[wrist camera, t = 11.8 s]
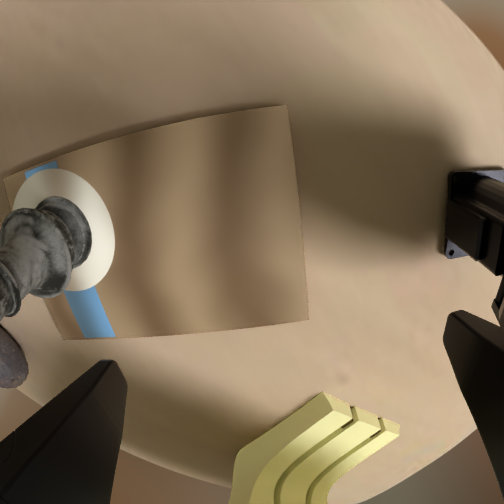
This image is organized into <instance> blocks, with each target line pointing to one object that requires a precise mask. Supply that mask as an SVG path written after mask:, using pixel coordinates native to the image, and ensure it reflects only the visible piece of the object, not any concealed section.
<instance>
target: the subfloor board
mask: <svg viewBox="0 0 504 504" xmlns="http://www.w3.org/2000/svg"><path fill="white" fill-rule="evenodd" d="M3 182H4V186H5V190H6V194H7V198H8V201H9V205H10V208H11V212H12V211H14V210H17V209H20V208H32V209H35V208H36V206H37V205H38V204H39V203H40V202H41V201H43V200H44V199H46V198H49V197H53V196H57V197H63V198H66V199H68V200H70V201H71V202H73V203H74V204H75V205H77V206H78V207H79V209H80V210H81V211H82V212H83V213H84V215H85V217H86V219H87V221H88V223H89V226H90V229H91V233H92V246H91V252H90V254H89V256H88V258H87V260H86V261H85V262H84V263H83V264H82V265H81V266H79V267H77V268H74V269H73V270H72V272H71V279H70V281H69V284H68V286H67V288H66V289H65V290H64V291H63V292H62V293H61V294H60V295H58V296H56V297H53V298H44V300H45V303H46V305H47V307H48V309H49V311H50V313H51V315H52V317H53V320H54V322H55V324H56V326H57V328H58V330H59V332H60V334H61V335H62V337H63V339H64V340H82V339H114V338H136V337H153V336H167V335H181V334H193V333H204V332H214V331H224V330H234V329H243V328H251V327H260V326H268V325H275V324H283V323H290V322H297V321H304V320H309V310H308V296H307V282H306V269H305V257H304V246H303V235H302V225H301V214H300V205H299V195H298V186H297V178H296V169H295V161H294V153H293V145H292V137H291V130H290V122H289V115H288V108H287V105H280V106H271V107H263V108H256V109H249V110H242V111H235V112H229V113H223V114H217V115H212V116H206V117H201V118H196V119H191V120H186V121H181V122H177V123H172V124H168V125H163V126H159V127H155V128H151V129H147V130H143V131H139V132H135V133H132V134H128V135H124V136H121V137H117V138H114V139H110V140H107V141H103V142H100V143H97V144H94V145H91V146H87V147H84V148H81V149H78V150H75V151H72V152H69V153H67V154H64V155H61V156H58V157H55V158H53V159H50V160H47V161H45V162H42V163H39V164H37V165H34V166H32V167H29V168H27V169H24V170H22V171H19V172H17V173H15V174H12V175H10V176H8V177H5V178H3Z"/></svg>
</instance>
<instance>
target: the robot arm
mask: <svg viewBox="0 0 504 504" xmlns="http://www.w3.org/2000/svg"><path fill="white" fill-rule="evenodd" d="M455 176H456V180H455V181H454V177H455ZM450 250H451V252H450V253H449V251H450ZM444 255H445V256H446V257H447V258H448V259H453V258H458V257H463V256H468V255H469V256H470V257H471V258H473V259H474V260H475V261H479V262H480V263H481V264H482V265H484V266H485V267H486V268H487V269H488V270H490V271H491V272H492V273H493V274H494V275H495V276H499V275H501V276H502V280H501V283H500V287H499V290H498V293H497V296H496V298H495V299H494V300H493V303H492V306H491V307H492V309H493V311H494V313H495V316H496V318H497V320H498V322H499V324H500V327H499V326H497V325H495V324H493V323H491V322H488V321H486V320H484V319H482V318H480V317H477V316H475V315H473V314H471V313H468V312H466V311H464V310H459V311H455V312H452V313H450V314H449V315H448V318H447V322H446V327H445V331H444V335H443V343H444V346H445V349H446V352H447V354H448V357H449V359H450V362H451V365H452V368H453V370H454V373H455V376H456V379H457V382H458V384H459V387H460V389H461V392H462V394H463V396H464V398H465V400H466V403H467V405H468V407H469V409H470V412H471V414H472V416H473V418H474V421H475V423H476V425H477V428H478V430H479V433H480V435H481V438H482V440H483V443H484V445H485V448H486V450H487V453H488V455H489V458H490V461H491V464H492V466H493V469H494V472H495V475H496V478H497V481H498V484H499V487H500V490H501V493H502V497H503V500H504V169H489V170H459V171H451V172H450V174H449V176H448V201H447V208H446V225H445V244H444ZM126 396H127V382H126V379H125V377H124V376H123V374H122V372H121V370H120V368H119V366H118V364H117V363H116V362H115V361H114V360H100V361H99V362H97V363H96V364H95V365H94V366H93V367H91V368H90V369H89V370H88V371H86V372H85V373H84V374H83V375H81V376H80V377H79V378H78V379H76V380H75V381H74V382H73V383H72V384H70V385H69V386H68V387H67V388H65V389H64V390H63V391H62V392H61V393H59V394H58V395H57V396H56V397H54V398H53V399H52V400H51V401H50V402H48V403H47V404H46V405H45V406H43V407H42V408H41V409H40V410H39V411H37V412H36V413H35V414H34V415H32V416H31V417H30V418H29V419H28V420H26V421H25V422H24V423H23V424H22V425H20V426H19V427H18V428H17V429H16V430H15V431H13V432H12V433H11V434H10V435H8V436H7V437H6V438H5V439H3V440H2V441H1V442H0V504H110V498H111V493H112V486H113V481H114V475H115V469H116V464H117V459H118V453H119V449H120V444H121V438H122V432H123V424H124V414H125V405H126Z"/></svg>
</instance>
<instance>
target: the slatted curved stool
mask: <svg viewBox="0 0 504 504" xmlns="http://www.w3.org/2000/svg"><path fill="white" fill-rule="evenodd" d="M399 435H400V434H399V424H397V423H394V422H392V421H389V420H387V419H384V418H380V419H379V420H378V418H377V415H374V414H372V413H370V412H367V411H365V410H363V409H360V408H358V407H356V406H354V407H353V408H352V409H350V406H349V403H346V402H344V401H342V400H340V399H337V398H335V397H333V396H331V395H329V394H327V393H324V392H321V393H320V394H318V395H317V396H316V397H314V398H313V399H312V400H311V401H309V402H308V403H307V404H305V405H304V406H303V407H301V408H300V409H299V410H297V411H296V412H295V413H293V414H292V415H290V416H289V417H288V418H286V419H285V420H283V421H282V422H281V423H279V424H278V425H276V426H275V427H273V428H272V429H270V430H269V431H267V432H266V433H265V434H263V435H262V436H260V437H259V438H257V439H255V440H254V441H252V442H251V443H249V444H248V445H246V446H245V447H243V448H242V449H240V451H239V452H238V454H237V456H236V459H235V463H234V470H233V480H232V491H231V496H230V500H229V503H228V504H327V495H328V492H329V490H330V488H331V487H332V485H333V484H334V483H335V482H336V481H337V480H338V479H339V478H340V477H341V476H343V475H344V474H345V473H346V472H347V471H349V470H350V469H351V468H353V467H354V466H356V465H357V464H358V463H360V462H361V461H363V460H364V459H366V458H367V457H368V456H370V455H371V454H373V453H374V452H376V451H377V450H379V449H380V448H382V447H383V446H385V445H386V444H388V443H389V442H391V441H392V440H394V439H395V438H396V437H398V436H399Z"/></svg>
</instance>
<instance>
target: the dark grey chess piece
mask: <svg viewBox="0 0 504 504" xmlns="http://www.w3.org/2000/svg"><path fill="white" fill-rule="evenodd" d="M91 246H92V233H91V229H90V226H89V223H88V221H87V219H86V217H85V215H84V213H83V212H82V211H81V210H80V209H79V207H78V206H77V205H75V204H74V203H73V202H71V201H70V200H68V199H66V198H63V197H57V196H53V197H49V198H46V199H44V200H43V201H41V202H40V203H39V204H38V205H37V206H36V208H35V209H32V208H20V209H17V210H14V211H12V212H11V213H10V214H9V215H8V216H7V217H6V218H5V220H4V222H3V223H2V226H1V230H0V321H1V320H2V318H3V317H4V316H5V317H12V316H14V315H16V314H17V313H18V311H19V310H20V306H21V300H22V299H23V298H24V297H25V296H26V295H27V294H28V293H30V294H32V295H34V296H37V297H41V298H53V297H56V296H58V295H60V294H61V293H62V292H63V291H64V290H65V289H66V288H67V286H68V284H69V281H70V279H71V272H72V270H73V269H74V268H77V267H79V266H81V265H82V264H83V263H84V262H85V261H86V260H87V258H88V256H89V254H90V252H91Z"/></svg>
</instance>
